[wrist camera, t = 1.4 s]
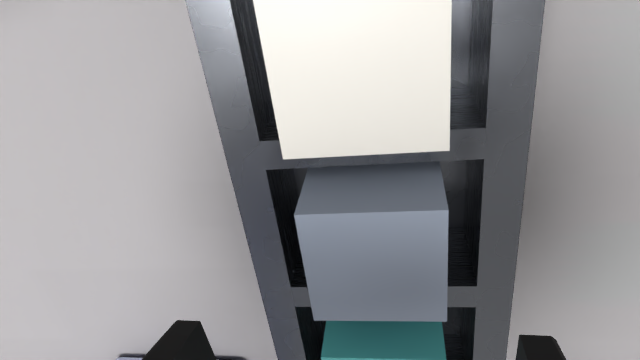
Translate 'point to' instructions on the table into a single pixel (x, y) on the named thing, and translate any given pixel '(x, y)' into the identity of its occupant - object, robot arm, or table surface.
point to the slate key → (375, 242)
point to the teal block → (383, 340)
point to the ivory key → (358, 75)
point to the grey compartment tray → (456, 165)
